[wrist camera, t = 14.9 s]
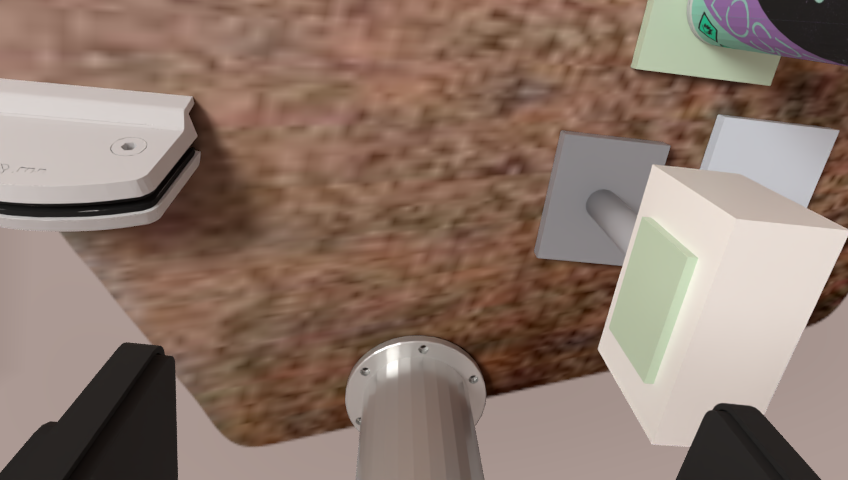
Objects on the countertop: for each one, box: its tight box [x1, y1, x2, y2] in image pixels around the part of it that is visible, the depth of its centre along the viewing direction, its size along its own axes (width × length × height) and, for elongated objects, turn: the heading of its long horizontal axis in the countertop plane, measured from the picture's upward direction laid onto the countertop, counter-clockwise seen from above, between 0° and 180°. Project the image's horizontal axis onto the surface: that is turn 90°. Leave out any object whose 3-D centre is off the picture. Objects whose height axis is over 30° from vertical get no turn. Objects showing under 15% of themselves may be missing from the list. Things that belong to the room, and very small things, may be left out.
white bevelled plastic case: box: [0, 78, 201, 231], centre depth 36 cm, size 17×5×10 cm, turn 84°
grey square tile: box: [700, 114, 839, 208], centre depth 42 cm, size 9×9×1 cm
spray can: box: [687, 0, 848, 66], centre depth 28 cm, size 6×6×20 cm
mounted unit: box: [534, 130, 848, 447], centre depth 34 cm, size 12×8×20 cm, turn 173°
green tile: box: [631, 0, 781, 86], centre depth 37 cm, size 10×10×1 cm
